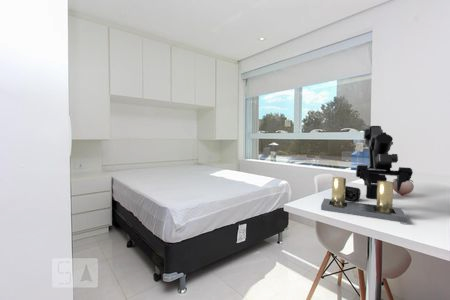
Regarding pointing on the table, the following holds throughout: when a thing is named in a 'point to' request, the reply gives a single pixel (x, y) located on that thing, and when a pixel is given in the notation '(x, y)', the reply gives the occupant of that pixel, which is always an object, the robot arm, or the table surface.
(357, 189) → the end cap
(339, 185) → the cylinder
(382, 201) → the brass billet
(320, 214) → the table surface
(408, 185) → the decorative fruit
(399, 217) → the plate
